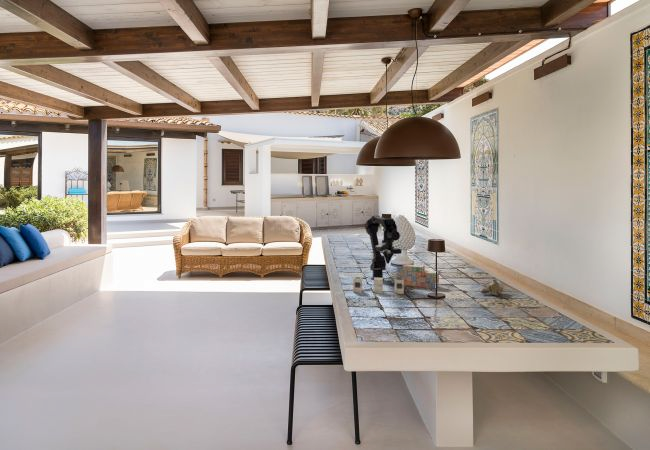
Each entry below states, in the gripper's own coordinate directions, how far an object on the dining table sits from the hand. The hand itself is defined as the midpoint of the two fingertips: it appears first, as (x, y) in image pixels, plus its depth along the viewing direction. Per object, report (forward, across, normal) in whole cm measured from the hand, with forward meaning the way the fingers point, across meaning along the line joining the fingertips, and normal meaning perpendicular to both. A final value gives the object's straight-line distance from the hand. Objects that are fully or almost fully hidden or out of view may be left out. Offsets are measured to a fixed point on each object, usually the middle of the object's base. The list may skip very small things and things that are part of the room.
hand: (387, 263), depth 302 cm
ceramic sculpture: (+14, +54, +32) cm, 65 cm away
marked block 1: (+13, +5, -28) cm, 31 cm away
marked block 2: (+13, +21, -10) cm, 27 cm away
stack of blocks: (+13, +15, +14) cm, 24 cm away
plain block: (+13, +13, -19) cm, 26 cm away
